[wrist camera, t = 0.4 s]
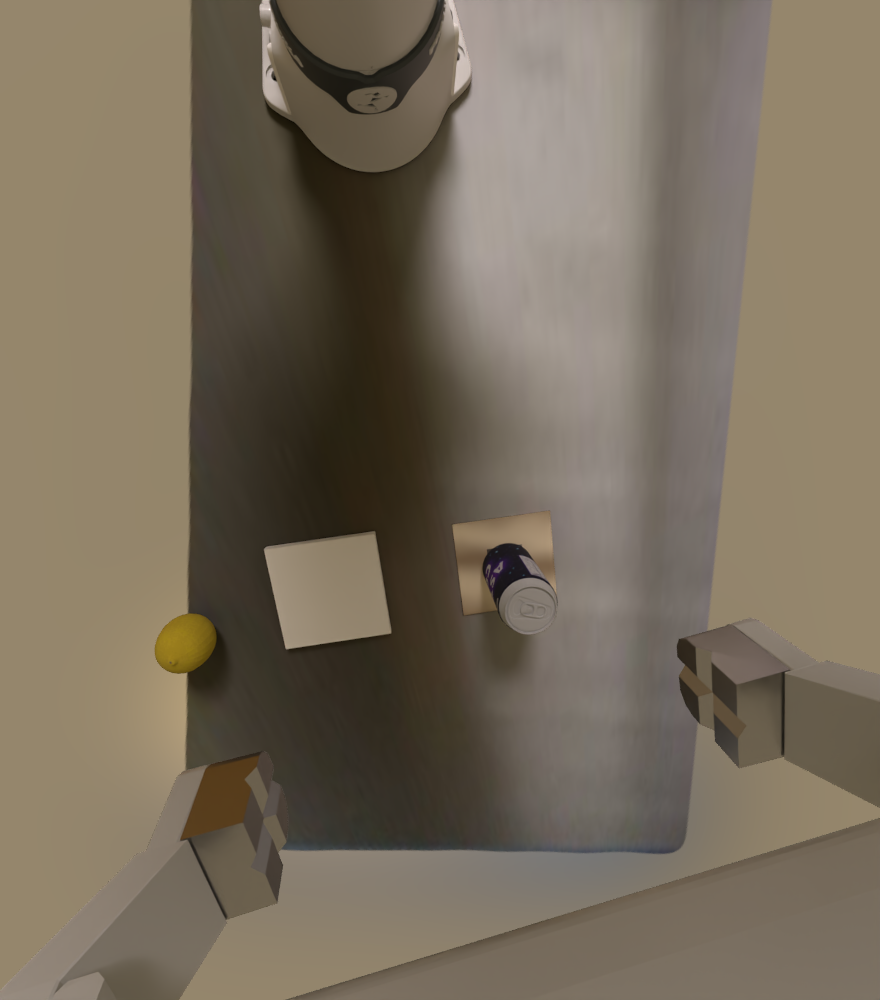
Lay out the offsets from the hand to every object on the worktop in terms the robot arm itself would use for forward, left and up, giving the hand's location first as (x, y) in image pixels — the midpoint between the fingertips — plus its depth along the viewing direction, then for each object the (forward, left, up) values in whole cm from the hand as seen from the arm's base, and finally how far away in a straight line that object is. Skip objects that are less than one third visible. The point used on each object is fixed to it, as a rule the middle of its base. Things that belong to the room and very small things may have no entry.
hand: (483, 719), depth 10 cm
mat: (+16, -12, -48) cm, 52 cm away
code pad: (+16, +8, -48) cm, 51 cm away
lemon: (+18, -27, -48) cm, 58 cm away
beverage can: (+16, +8, -48) cm, 51 cm away
